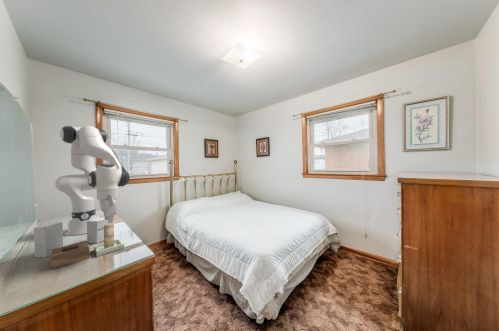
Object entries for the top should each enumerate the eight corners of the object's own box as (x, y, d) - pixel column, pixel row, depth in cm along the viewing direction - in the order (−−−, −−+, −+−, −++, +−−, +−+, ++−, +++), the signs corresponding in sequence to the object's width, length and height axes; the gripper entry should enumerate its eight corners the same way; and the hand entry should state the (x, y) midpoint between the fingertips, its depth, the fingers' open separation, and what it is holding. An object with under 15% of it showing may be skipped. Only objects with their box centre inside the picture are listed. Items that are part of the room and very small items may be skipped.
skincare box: (53, 249, 93) (52, 221, 93) (64, 249, 93) (63, 221, 93) (33, 258, 85) (32, 227, 85) (45, 257, 85) (45, 226, 85)
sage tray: (94, 250, 91) (93, 245, 91) (119, 243, 99) (119, 238, 99) (97, 257, 84) (96, 251, 84) (124, 248, 92) (124, 244, 92)
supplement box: (96, 243, 99) (96, 221, 99) (86, 243, 101) (85, 220, 101) (109, 238, 107) (109, 217, 107) (99, 237, 108) (99, 217, 108)
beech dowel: (103, 248, 92) (103, 224, 92) (113, 245, 94) (112, 223, 95) (104, 250, 89) (104, 226, 89) (114, 247, 92) (114, 224, 92)
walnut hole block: (51, 260, 82) (51, 249, 82) (86, 250, 91) (86, 240, 91) (51, 269, 74) (50, 257, 74) (89, 258, 83) (89, 247, 83)
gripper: (119, 196, 87) (120, 224, 87) (111, 192, 101) (112, 216, 101) (103, 198, 82) (104, 227, 83) (97, 193, 96) (97, 219, 96)
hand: (108, 221), depth 92 cm, fingers open, 8 cm apart
